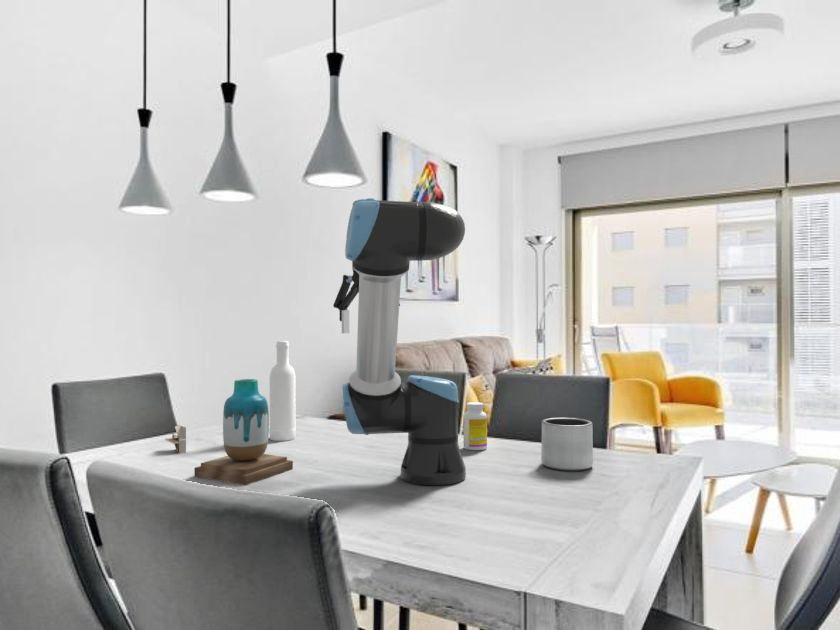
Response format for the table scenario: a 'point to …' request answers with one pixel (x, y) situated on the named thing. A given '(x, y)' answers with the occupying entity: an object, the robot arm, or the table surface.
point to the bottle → (282, 396)
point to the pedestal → (243, 469)
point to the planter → (567, 444)
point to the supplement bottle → (475, 427)
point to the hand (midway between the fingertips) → (365, 333)
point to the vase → (245, 422)
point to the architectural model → (179, 439)
